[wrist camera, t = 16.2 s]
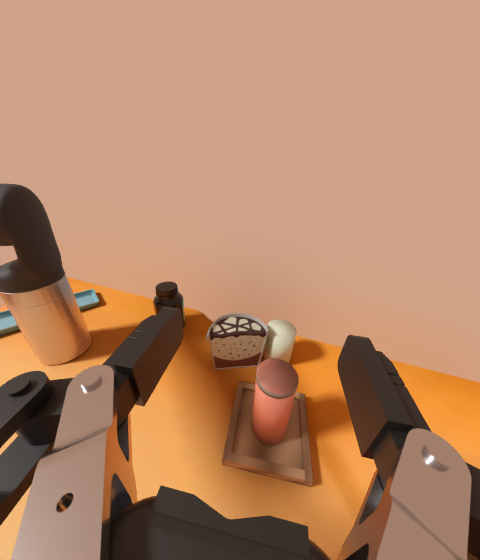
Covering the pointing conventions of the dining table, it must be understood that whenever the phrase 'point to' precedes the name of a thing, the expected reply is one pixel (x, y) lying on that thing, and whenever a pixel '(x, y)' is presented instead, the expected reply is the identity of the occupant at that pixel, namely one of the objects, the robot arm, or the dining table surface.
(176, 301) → the supplement bottle
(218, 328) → the food container
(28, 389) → the robot arm
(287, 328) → the sage tin
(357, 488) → the dining table surface
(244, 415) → the tray
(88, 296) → the shallow long dish
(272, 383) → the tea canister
